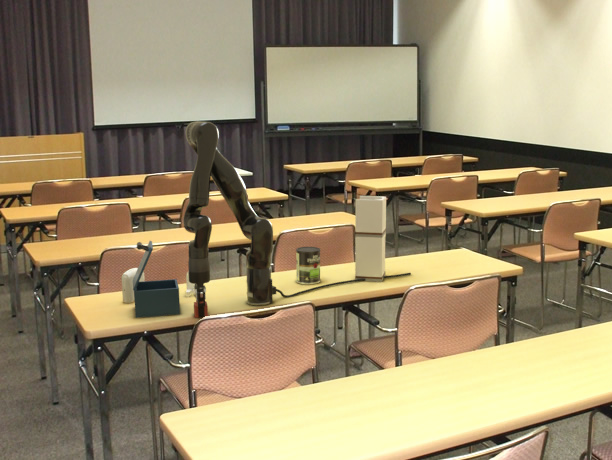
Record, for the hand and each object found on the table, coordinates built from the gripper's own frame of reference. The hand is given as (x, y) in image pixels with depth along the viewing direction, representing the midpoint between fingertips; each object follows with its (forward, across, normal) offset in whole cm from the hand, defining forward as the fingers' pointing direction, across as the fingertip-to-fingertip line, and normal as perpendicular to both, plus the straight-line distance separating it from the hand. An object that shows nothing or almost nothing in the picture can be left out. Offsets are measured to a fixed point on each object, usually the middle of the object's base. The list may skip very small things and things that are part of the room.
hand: (200, 314), depth 274 cm
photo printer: (+1, +27, +23) cm, 35 cm away
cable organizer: (+1, +30, 0) cm, 30 cm away
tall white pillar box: (+1, +33, -75) cm, 82 cm away
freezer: (0, +10, +15) cm, 18 cm away
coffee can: (+1, +35, -48) cm, 59 cm away
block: (0, 0, 0) cm, 0 cm away
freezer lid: (-17, +10, +19) cm, 27 cm away
